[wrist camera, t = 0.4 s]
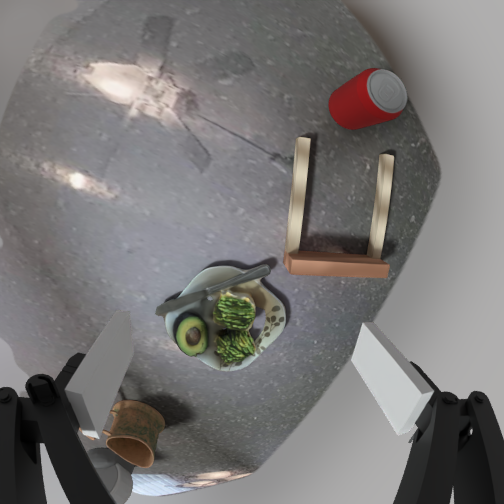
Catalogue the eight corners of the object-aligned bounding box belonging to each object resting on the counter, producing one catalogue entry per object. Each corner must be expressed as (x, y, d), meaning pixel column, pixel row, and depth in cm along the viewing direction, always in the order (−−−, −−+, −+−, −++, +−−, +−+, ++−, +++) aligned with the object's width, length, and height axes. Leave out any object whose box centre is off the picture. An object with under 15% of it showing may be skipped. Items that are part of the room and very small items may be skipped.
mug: (108, 372, 45) (87, 415, 33) (176, 423, 49) (170, 468, 38) (82, 394, 46) (62, 432, 34) (144, 439, 50) (135, 479, 39)
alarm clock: (102, 468, 54) (89, 514, 37) (79, 448, 51) (61, 496, 34) (144, 466, 54) (135, 520, 36) (120, 446, 51) (105, 503, 33)
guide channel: (296, 138, 37) (305, 133, 32) (387, 156, 39) (405, 155, 34) (283, 262, 42) (290, 274, 37) (371, 267, 43) (387, 277, 39)
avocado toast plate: (226, 226, 40) (226, 232, 35) (311, 300, 44) (319, 314, 40) (147, 316, 43) (140, 331, 38) (231, 375, 47) (231, 392, 42)
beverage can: (374, 109, 37) (420, 94, 25) (352, 139, 38) (396, 130, 26) (341, 80, 35) (380, 53, 23) (317, 109, 36) (352, 87, 25)
